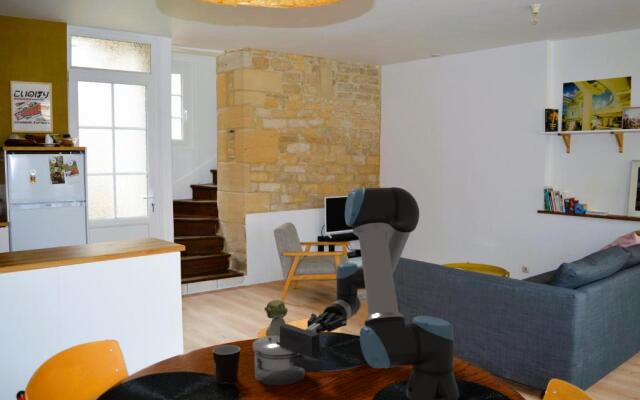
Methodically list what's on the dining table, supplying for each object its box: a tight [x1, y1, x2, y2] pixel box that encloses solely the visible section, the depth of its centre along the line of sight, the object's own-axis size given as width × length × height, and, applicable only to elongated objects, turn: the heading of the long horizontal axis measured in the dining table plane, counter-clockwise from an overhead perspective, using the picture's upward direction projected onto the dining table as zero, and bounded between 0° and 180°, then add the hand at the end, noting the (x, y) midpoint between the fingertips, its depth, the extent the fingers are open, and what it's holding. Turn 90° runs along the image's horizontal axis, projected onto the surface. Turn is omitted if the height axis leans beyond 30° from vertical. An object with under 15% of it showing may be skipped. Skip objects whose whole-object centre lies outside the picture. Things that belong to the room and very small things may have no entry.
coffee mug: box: [212, 344, 241, 384], centre depth 186 cm, size 12×9×10 cm
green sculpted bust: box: [264, 299, 289, 337], centre depth 212 cm, size 14×20×16 cm
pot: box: [253, 350, 323, 386], centre depth 187 cm, size 28×17×9 cm, turn 48°
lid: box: [252, 323, 320, 358], centre depth 185 cm, size 26×17×8 cm
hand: (308, 333), depth 181 cm, fingers closed
